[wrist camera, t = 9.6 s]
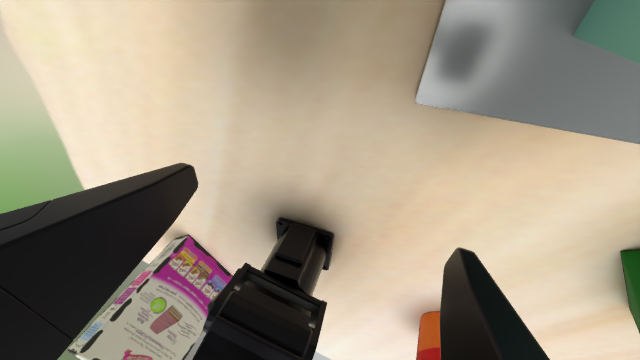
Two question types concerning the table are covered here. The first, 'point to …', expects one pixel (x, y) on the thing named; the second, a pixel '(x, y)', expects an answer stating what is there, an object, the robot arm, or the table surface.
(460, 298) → the robot arm
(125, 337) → the candy bar box
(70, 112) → the table surface
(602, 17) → the block
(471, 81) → the board
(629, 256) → the milk carton
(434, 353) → the paper cup
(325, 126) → the table surface
